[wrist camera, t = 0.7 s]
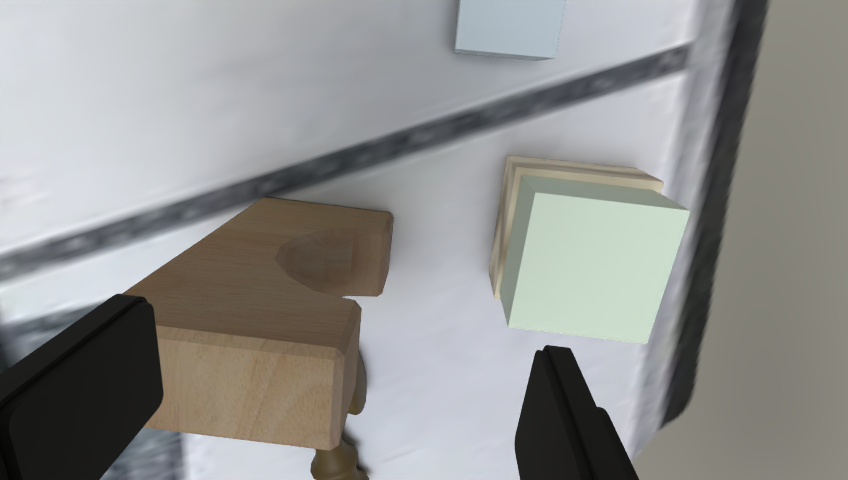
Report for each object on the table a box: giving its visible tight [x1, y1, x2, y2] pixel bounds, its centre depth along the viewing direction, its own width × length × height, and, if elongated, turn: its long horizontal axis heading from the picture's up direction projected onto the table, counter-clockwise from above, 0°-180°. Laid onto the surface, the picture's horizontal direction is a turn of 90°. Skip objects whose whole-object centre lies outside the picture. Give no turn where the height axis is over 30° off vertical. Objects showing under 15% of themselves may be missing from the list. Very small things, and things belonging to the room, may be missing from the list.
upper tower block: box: [499, 174, 690, 344], centre depth 30 cm, size 9×9×5 cm
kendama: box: [311, 352, 369, 480], centre depth 42 cm, size 6×10×20 cm
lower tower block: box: [489, 155, 664, 299], centre depth 35 cm, size 10×10×5 cm
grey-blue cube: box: [454, 0, 565, 61], centre depth 29 cm, size 6×6×6 cm
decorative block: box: [122, 197, 394, 450], centre depth 29 cm, size 11×6×20 cm, turn 82°
